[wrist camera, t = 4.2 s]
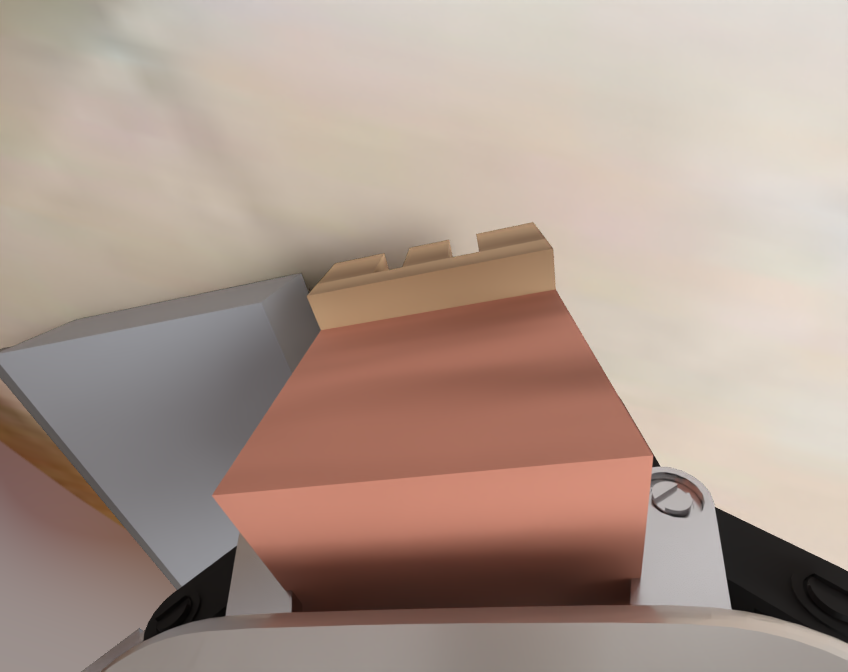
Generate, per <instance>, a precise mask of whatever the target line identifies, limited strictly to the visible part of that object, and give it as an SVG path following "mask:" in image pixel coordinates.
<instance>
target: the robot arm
mask: <svg viewBox="0 0 848 672" xmlns="http://www.w3.org/2000/svg"><path fill="white" fill-rule="evenodd" d="M619 398H620V397H619ZM620 400H621V399H620ZM621 401H622V400H621ZM622 403H623V402H622ZM623 405H624V404H623ZM624 406H625V405H624ZM625 408H626V407H625ZM626 410H627V409H626ZM627 412H628V411H627ZM628 413H629V412H628ZM629 415H630V414H629ZM630 417H631V416H630ZM631 418H632V417H631ZM632 420H633V419H632ZM633 422H634V421H633ZM634 423H635V422H634ZM635 425H636V424H635ZM636 427H637V426H636ZM638 430H639V429H638ZM639 432H640V431H639ZM640 434H641V433H640ZM641 435H642V434H641ZM642 437H643V436H642ZM643 439H644V438H643ZM644 440H645V439H644ZM645 442H646V441H645ZM646 444H647V443H646ZM647 445H648V444H647ZM648 447H649V446H648ZM649 449H650V448H649ZM650 451H651V450H650ZM651 452H652V451H651ZM652 454H653V453H652ZM81 672H848V571H846V570H844V569H842V568H840V567H838V566H836V565H834V564H832V563H830V562H828V561H826V560H824V559H822V558H820V557H818V556H815V555H813V554H811V553H809V552H807V551H805V550H803V549H801V548H799V547H797V546H795V545H793V544H791V543H789V542H786V541H784V540H782V539H780V538H778V537H776V536H774V535H772V534H770V533H768V532H766V531H764V530H762V529H760V528H757V527H755V526H753V525H751V524H749V523H747V522H745V521H743V520H741V519H739V518H737V517H735V516H733V515H731V514H728V513H726V512H724V511H722V510H720V509H718V508H716V507H715V506H714V501H713V499H712V496H711V493H710V492H709V491H708V489H707V488H706V487H705V486H704V484H702V483H701V482H700V481H699V480H697V479H696V478H695V477H693V476H691V475H689V474H687V473H685V472H683V471H681V470H677V469H674V468H670V467H660V465H659V463H658V461H657V460H656V458H655V456H654V455H653V464H652V474H651V484H650V494H649V504H648V514H647V524H646V534H645V544H644V554H643V564H642V574H641V578H631V586H630V605H584V606H530V607H479V608H436V609H395V610H358V611H325V612H302V603H301V602H300V600H299V599H298V598H297V596H296V595H295V594H294V593H293V591H292V590H288V591H285V590H284V589H283V587H282V586H281V585H280V583H279V582H278V581H277V579H276V578H275V577H274V576H273V574H272V573H271V572H270V570H269V569H268V568H267V567H266V565H265V564H264V563H263V561H262V560H261V559H260V557H259V556H258V555H257V554H256V552H255V551H254V550H253V548H252V547H251V546H250V545H249V543H248V542H247V541H246V539H245V538H244V537H243V536H242V534H241V533H239V537H238V543H237V546H235V547H234V548H233V549H231V550H230V551H229V552H227V553H226V554H225V555H223V556H222V557H221V558H219V559H218V560H217V561H215V562H214V563H213V564H211V565H210V566H209V567H207V568H206V569H205V570H203V571H202V572H201V573H199V574H198V575H197V576H195V577H194V578H193V579H191V580H190V581H189V582H187V583H186V584H185V585H183V586H182V587H181V588H179V589H178V590H177V591H175V592H174V593H173V594H172V595H171V596H169V597H168V598H167V599H166V600H165V601H164V602H163V603H162V604H161V605H160V606H159V608H158V609H157V610H156V611H155V612H154V614H153V616H152V618H151V619H150V621H149V622H148V625H147V627H146V630H144V631H143V630H141V629H140V628H139V629H137V630H136V631H135V632H133V633H132V634H131V635H129V636H128V637H127V638H125V639H124V640H123V641H121V642H120V643H119V644H117V645H116V646H115V647H113V648H112V649H111V650H110V651H108V652H107V653H105V654H104V655H103V656H101V657H100V658H99V659H97V660H96V661H95V662H94V663H92V664H91V665H89V666H88V667H87V668H85V669H84V670H83V671H81Z"/></svg>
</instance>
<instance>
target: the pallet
mask: <svg viewBox="0 0 848 672" xmlns="http://www.w3.org/2000/svg"><path fill="white" fill-rule="evenodd" d="M476 235H477V241H478V247H479V252H476V253H471V254H466V255H461V256H456V257H452V252H451V246H450V241H449V240H446V241H441V242H436V243H431V244H426V245H421V246H417V247H412V248H409V251H408V254H407V256H406V259H405V261H404V264H403V267H401V268H396V269H391V270H389V268H388V265H387V261H386V258H385V254H384V253H383V254H378V255H373V256H369V257H364V258H359V259H354V260H349V261H345V262H340V263H335V264H334V265H333V266H332V268H331V269H330V270H329V271H328V272H327V273H326V275H325V276H324V277H323V278H322V279H321V280H320V281H319V283H318V284H317V285H316V286H315V287H314V288H313V289H312V291H311V292H310V293H309V294H308V295H307V298H308V301H309V303H310V306H311V308H312V310H313V313H314V315H315V318H316V320H317V322H318V325H319V327H320V329H321V331H320V332H319V334H318V335H317V337H316V338H315V340H314V341H313V343H312V344H311V346H310V347H309V349H308V350H307V352H306V353H305V355H304V357H303V358H302V360H301V361H300V363H299V364H298V366H297V367H296V369H295V370H294V372H293V373H292V375H291V376H290V378H289V379H288V381H287V382H286V384H285V385H284V387H283V388H282V390H281V391H280V393H279V394H278V396H277V397H276V399H275V400H274V402H273V403H272V405H271V406H270V408H269V410H268V411H267V413H266V414H265V416H264V417H263V419H262V420H261V422H260V423H259V425H258V426H257V428H256V429H255V431H254V432H253V434H252V435H251V437H250V438H249V440H248V441H247V443H246V444H245V446H244V447H243V449H242V450H241V452H240V453H239V455H238V456H237V458H236V459H235V461H234V462H233V464H232V466H231V467H230V469H229V470H228V472H227V473H226V475H225V476H224V478H223V479H222V481H221V482H220V484H219V485H218V487H217V488H216V490H215V491H214V493H213V494H212V497H213V498H214V499H215V501H216V502H217V503H218V504H219V506H220V507H221V508H222V510H223V511H224V512H225V514H226V515H227V516H228V517H229V519H230V520H231V521H232V523H233V524H234V525H235V526H236V528H237V529H238V530H239V532H240V533H241V534H242V536H243V537H244V538H245V539H246V541H247V542H248V543H249V545H250V546H251V547H252V548H253V550H254V551H255V552H256V554H257V555H258V556H259V557H260V559H261V560H262V561H263V563H264V564H265V565H266V567H267V568H268V569H269V570H270V572H271V573H272V574H273V576H274V577H275V578H276V579H277V581H278V582H279V583H280V585H281V586H282V587H283V589H284V590H285V591H288V590H292V591H293V593H294V594H295V595H296V596H297V598H298V599H299V600H300V602H301V603H302V612H325V611H358V610H395V609H436V608H479V607H530V606H584V605H630V586H631V578H641V574H642V564H643V554H644V544H645V534H646V524H647V514H648V504H649V494H650V484H651V474H652V464H653V454H652V452H651V451H650V449H649V447H648V445H647V444H646V442H645V440H644V439H643V437H642V435H641V434H640V432H639V430H638V428H637V427H636V425H635V423H634V422H633V420H632V418H631V417H630V415H629V413H628V412H627V410H626V408H625V406H624V405H623V403H622V401H621V400H620V398H619V396H618V395H617V393H616V391H615V389H614V388H613V386H612V384H611V383H610V381H609V379H608V378H607V376H606V374H605V372H604V371H603V369H602V367H601V366H600V364H599V362H598V361H597V359H596V357H595V355H594V354H593V352H592V350H591V349H590V347H589V345H588V344H587V342H586V340H585V339H584V337H583V335H582V333H581V332H580V330H579V328H578V327H577V325H576V323H575V322H574V320H573V318H572V316H571V315H570V313H569V311H568V310H567V308H566V306H565V305H564V303H563V301H562V299H561V298H560V296H559V294H558V293H557V291H556V288H555V272H554V255H553V248H552V246H551V245H550V244H549V242H548V241H547V240H546V239H545V237H544V236H543V235H542V233H541V232H540V231H539V229H538V228H537V227H536V225H535V224H534V223H533V222H532V223H527V224H522V225H518V226H513V227H508V228H503V229H498V230H494V231H489V232H484V233H479V234H476Z"/></svg>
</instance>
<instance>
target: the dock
mask: <svg viewBox="0 0 848 672" xmlns="http://www.w3.org/2000/svg"><path fill="white" fill-rule="evenodd" d="M308 294H309V292H308V290H307V287H306V284H305V282H304V279H303V276H302V274H301V273H299V274H294V275H289V276H284V277H279V278H275V279H270V280H265V281H260V282H255V283H251V284H246V285H241V286H236V287H231V288H226V289H222V290H217V291H212V292H207V293H202V294H197V295H193V296H188V297H183V298H178V299H173V300H169V301H164V302H159V303H154V304H149V305H144V306H140V307H135V308H130V309H125V310H120V311H115V312H111V313H106V314H101V315H96V316H91V317H87V318H82V319H77V320H74V321H71V322H69V323H67V324H64V325H62V326H60V327H57V328H55V329H53V330H50V331H48V332H46V333H43V334H41V335H38V336H36V337H34V338H31V339H29V340H27V341H24V342H22V343H20V344H17V345H15V346H12V347H7V348H2V349H0V378H1V379H2V380H3V382H4V383H5V384H6V385H7V386H8V388H9V389H10V390H11V391H12V392H13V394H14V395H15V396H16V397H17V398H18V400H19V401H20V402H21V403H22V404H23V406H24V407H25V408H26V409H27V411H28V412H29V413H30V414H31V415H32V417H33V418H34V419H35V420H36V421H37V423H38V424H39V425H40V426H41V427H42V429H43V430H44V431H45V432H46V433H47V435H48V436H49V437H50V438H51V439H52V441H53V442H54V443H55V444H56V445H57V447H58V448H59V449H60V450H61V451H62V453H63V454H64V455H65V456H66V457H67V459H68V460H69V461H70V462H71V463H72V465H73V466H74V467H75V468H76V469H77V471H78V472H79V473H80V474H81V475H82V477H83V478H84V479H85V480H86V481H87V483H88V484H89V485H90V486H91V487H92V489H93V490H94V491H95V492H96V493H97V495H98V496H99V497H100V498H101V499H102V501H103V502H104V503H105V504H106V505H107V507H108V508H109V509H110V510H111V511H112V513H113V514H114V515H115V516H116V517H117V519H118V520H119V521H120V522H121V523H122V525H123V526H124V527H125V528H126V529H127V531H128V532H129V533H130V534H131V535H132V537H133V538H134V539H135V540H136V541H137V543H138V544H139V545H140V546H141V547H142V549H143V550H144V551H145V552H146V553H147V555H148V556H149V557H150V558H151V559H152V561H153V562H154V563H155V564H156V565H157V567H158V568H159V569H160V570H161V571H162V572H163V574H164V575H165V576H166V577H167V578H168V580H169V581H170V582H171V583H172V584H173V586H174V587H175V588H176V589H177V590H178V589H179V588H181V587H182V586H183V585H185V584H186V583H187V582H189V581H190V580H191V579H193V578H194V577H195V576H197V575H198V574H199V573H201V572H202V571H203V570H205V569H206V568H207V567H209V566H210V565H211V564H213V563H214V562H215V561H217V560H218V559H219V558H221V557H222V556H223V555H225V554H226V553H227V552H229V551H230V550H231V549H233V548H234V547H235V546H237V543H238V537H239V533H240V532H239V530H238V529H237V528H236V526H235V525H234V524H233V523H232V521H231V520H230V519H229V517H228V516H227V515H226V514H225V512H224V511H223V510H222V508H221V507H220V506H219V504H218V503H217V502H216V501H215V499H214V498H213V497H212V494H213V493H214V491H215V490H216V488H217V487H218V485H219V484H220V482H221V481H222V479H223V478H224V476H225V475H226V473H227V472H228V470H229V469H230V467H231V466H232V464H233V462H234V461H235V459H236V458H237V456H238V455H239V453H240V452H241V450H242V449H243V447H244V446H245V444H246V443H247V441H248V440H249V438H250V437H251V435H252V434H253V432H254V431H255V429H256V428H257V426H258V425H259V423H260V422H261V420H262V419H263V417H264V416H265V414H266V413H267V411H268V410H269V408H270V406H271V405H272V403H273V402H274V400H275V399H276V397H277V396H278V394H279V393H280V391H281V390H282V388H283V387H284V385H285V384H286V382H287V381H288V379H289V378H290V376H291V375H292V373H293V372H294V370H295V369H296V367H297V366H298V364H299V363H300V361H301V360H302V358H303V357H304V355H305V353H306V352H307V350H308V349H309V347H310V346H311V344H312V343H313V341H314V340H315V338H316V337H317V335H318V334H319V332H320V331H321V329H320V327H319V325H318V322H317V320H316V318H315V315H314V313H313V310H312V308H311V306H310V303H309V301H308V298H307V295H308Z"/></svg>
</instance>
